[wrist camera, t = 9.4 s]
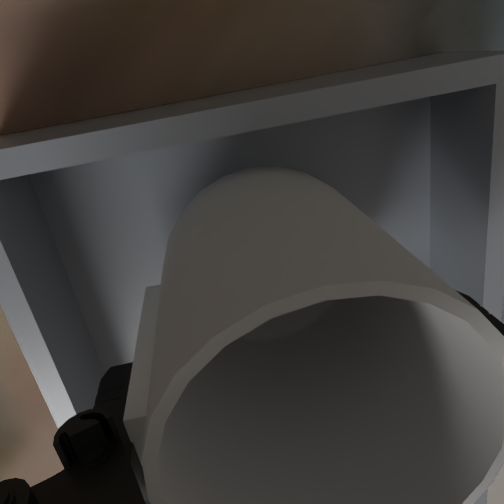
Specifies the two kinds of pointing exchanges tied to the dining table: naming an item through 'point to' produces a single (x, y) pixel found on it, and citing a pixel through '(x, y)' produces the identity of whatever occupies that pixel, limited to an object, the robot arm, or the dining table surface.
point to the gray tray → (230, 161)
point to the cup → (313, 359)
